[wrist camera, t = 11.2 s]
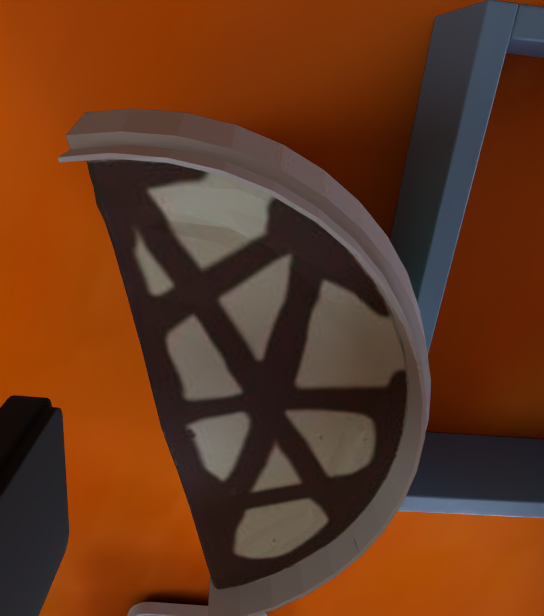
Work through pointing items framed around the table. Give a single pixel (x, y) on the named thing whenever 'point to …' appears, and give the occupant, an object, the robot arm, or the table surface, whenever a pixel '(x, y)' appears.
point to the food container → (263, 345)
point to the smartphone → (169, 609)
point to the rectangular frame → (443, 238)
